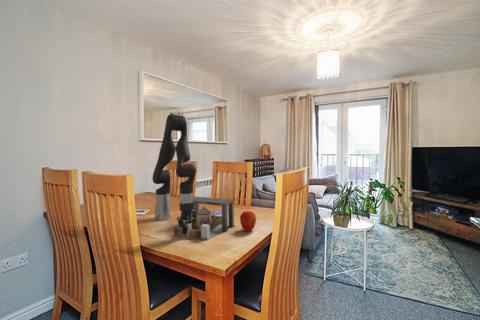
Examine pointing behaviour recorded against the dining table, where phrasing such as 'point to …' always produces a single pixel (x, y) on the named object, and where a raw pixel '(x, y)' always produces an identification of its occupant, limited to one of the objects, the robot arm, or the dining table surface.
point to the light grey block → (206, 232)
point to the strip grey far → (217, 229)
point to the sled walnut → (197, 233)
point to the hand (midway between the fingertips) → (187, 232)
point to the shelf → (224, 209)
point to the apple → (248, 220)
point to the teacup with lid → (204, 217)
